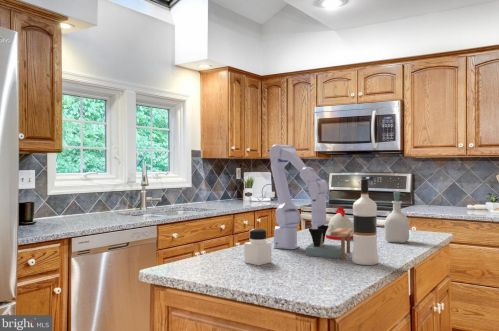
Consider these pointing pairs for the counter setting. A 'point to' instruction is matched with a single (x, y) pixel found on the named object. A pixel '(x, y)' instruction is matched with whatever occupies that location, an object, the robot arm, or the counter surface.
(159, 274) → the counter surface
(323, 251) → the socket block
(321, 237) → the birch peg
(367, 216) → the vodka
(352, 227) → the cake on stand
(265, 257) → the medicine bottle
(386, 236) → the soap bottle
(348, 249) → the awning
